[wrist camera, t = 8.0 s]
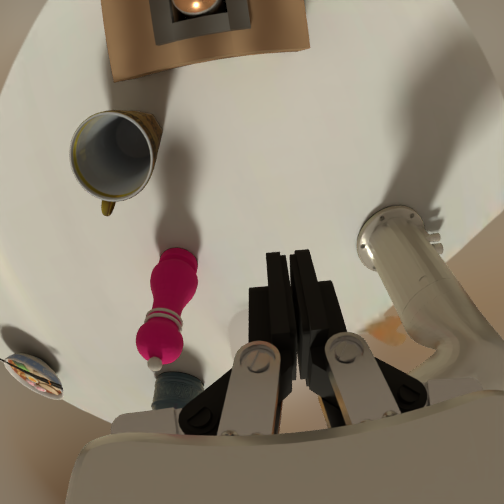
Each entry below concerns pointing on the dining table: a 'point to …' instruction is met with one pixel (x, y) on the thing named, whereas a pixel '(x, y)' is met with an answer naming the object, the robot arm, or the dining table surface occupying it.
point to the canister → (175, 390)
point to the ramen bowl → (34, 375)
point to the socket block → (197, 33)
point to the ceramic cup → (115, 154)
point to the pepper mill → (167, 307)
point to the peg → (199, 7)
